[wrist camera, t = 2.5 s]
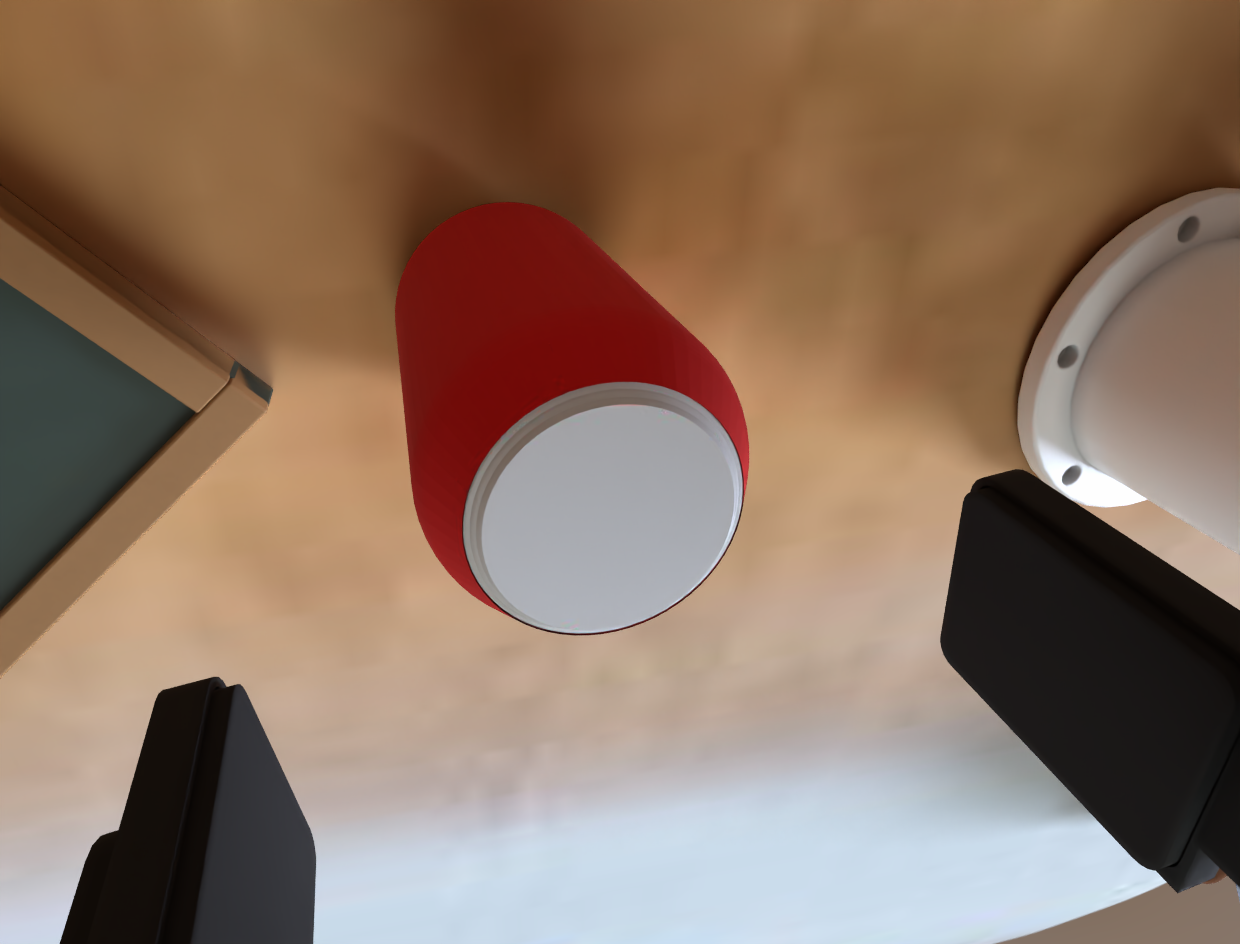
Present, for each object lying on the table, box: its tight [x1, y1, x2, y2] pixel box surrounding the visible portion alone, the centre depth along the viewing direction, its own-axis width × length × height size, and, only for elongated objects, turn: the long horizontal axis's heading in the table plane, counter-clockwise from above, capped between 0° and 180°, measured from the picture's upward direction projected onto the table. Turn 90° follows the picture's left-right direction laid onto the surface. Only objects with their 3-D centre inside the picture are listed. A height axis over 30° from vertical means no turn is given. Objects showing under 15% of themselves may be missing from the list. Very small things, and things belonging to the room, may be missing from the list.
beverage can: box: [395, 202, 749, 635], centre depth 18 cm, size 6×6×12 cm
